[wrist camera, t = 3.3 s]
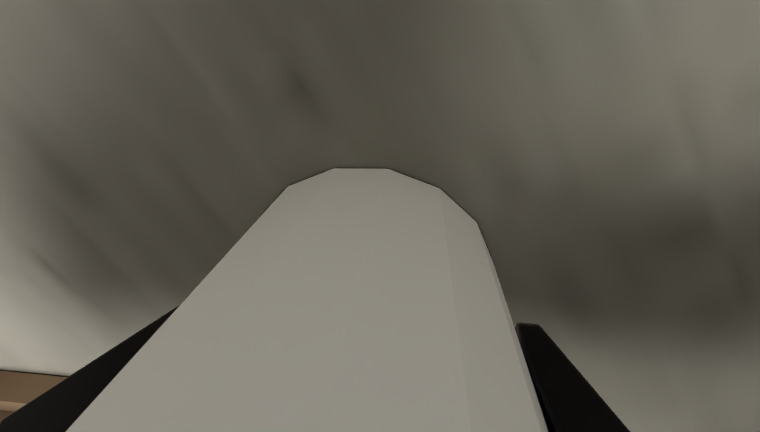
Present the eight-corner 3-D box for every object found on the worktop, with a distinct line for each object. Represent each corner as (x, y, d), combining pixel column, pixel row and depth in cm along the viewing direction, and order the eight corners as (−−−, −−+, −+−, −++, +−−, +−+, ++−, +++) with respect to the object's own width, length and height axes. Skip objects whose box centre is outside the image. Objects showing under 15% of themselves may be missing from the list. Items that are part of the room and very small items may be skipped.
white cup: (475, 393, 12) (512, 849, 6) (231, 346, 12) (23, 741, 6) (573, 173, 8) (959, 813, 2) (216, 106, 8) (-388, 526, 2)
